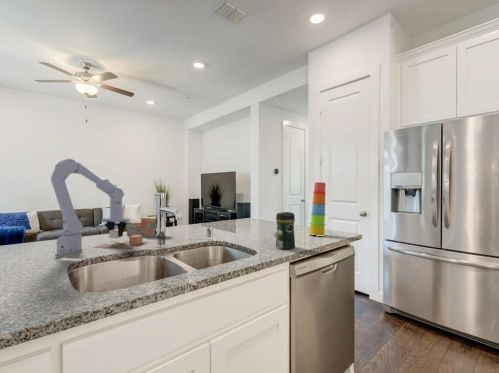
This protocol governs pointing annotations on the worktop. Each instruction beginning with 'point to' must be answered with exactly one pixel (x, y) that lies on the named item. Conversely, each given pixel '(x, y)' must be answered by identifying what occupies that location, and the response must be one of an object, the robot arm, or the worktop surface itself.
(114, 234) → the cream brick
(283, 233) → the coffee jar
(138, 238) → the terracotta brick
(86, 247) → the worktop surface
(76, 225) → the robot arm
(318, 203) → the stacking cups
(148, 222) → the stack of blocks
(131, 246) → the build board
